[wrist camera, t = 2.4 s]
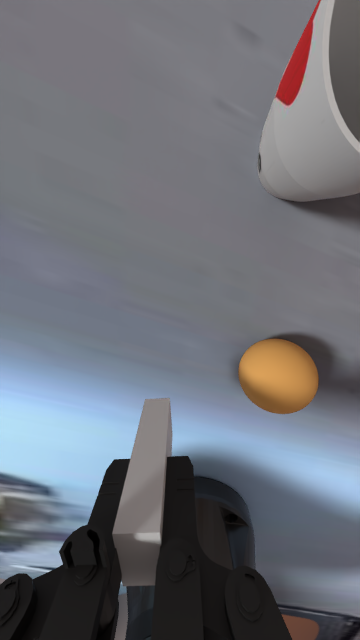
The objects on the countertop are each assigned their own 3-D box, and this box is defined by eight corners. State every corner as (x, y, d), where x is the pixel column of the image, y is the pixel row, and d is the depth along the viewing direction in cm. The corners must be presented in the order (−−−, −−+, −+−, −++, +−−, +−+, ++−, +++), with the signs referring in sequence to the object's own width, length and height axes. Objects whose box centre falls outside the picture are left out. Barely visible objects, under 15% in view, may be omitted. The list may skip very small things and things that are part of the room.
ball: (290, 384, 21) (331, 430, 16) (230, 386, 21) (249, 433, 16) (296, 327, 20) (344, 355, 14) (231, 330, 20) (253, 360, 14)
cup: (298, 65, 15) (531, -312, 5) (367, 158, 16) (646, 9, 6) (215, 166, 16) (269, 32, 7) (284, 242, 18) (410, 223, 8)
